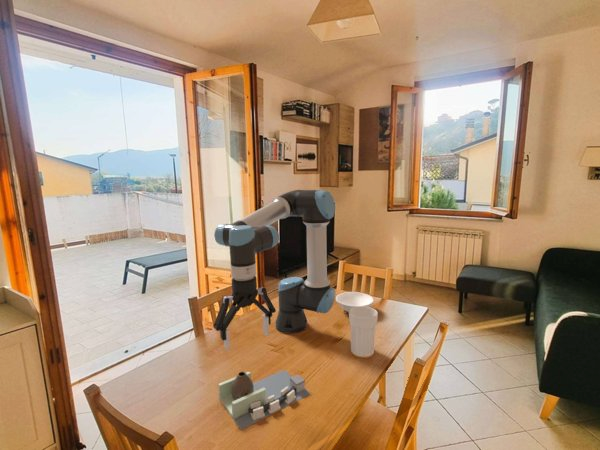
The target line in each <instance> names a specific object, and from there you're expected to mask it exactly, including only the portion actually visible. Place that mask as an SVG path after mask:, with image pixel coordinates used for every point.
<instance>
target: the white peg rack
mask: <svg viewBox="0 0 600 450" xmlns="http://www.w3.org/2000/svg"><path fill="white" fill-rule="evenodd" d="M292 386H295V387H296V391H295V390H292V391H291V392H289V393H288V394H287V400H285V401H284V402H285V403H287V404H290V403H291V402H292V401H293V400H294V399H295V398H296V396H295V392H296V393H298V392H300V391H302V390H304V389H305V388H306V383H305V378H303V377H301V375H299V374H295V375H293V376H292V377H291V378H290V387H291V388H292ZM288 391H289V389H288V387H285V388H284V389H283V390H281V396H283V395H284V394H286V393H287V392H288ZM274 400H275V396H274V395H272V396H270V397H268V398H266V399H265V404H268V403H270V402H272V401H274ZM290 405H291V404H290ZM260 406H261V402H260V401H257V402H254V403H251V404H250V408H251V409H253V408H256V409H253V413H250V414H251V417H252V419H253V420H256V419H259V418H261V417H264V416H265V414H264V408H263V406H262V407H260ZM258 407H259V408H258ZM279 409H281V407H280V406H279V400H276V401H274V402H272V403H270V409H268V410H267V411H268V412H269V413H270V414H271V413H273V412H275V411H277V410H279ZM281 410H282V409H281ZM279 411H280V410H279ZM277 412H278V411H277ZM275 413H276V412H275ZM273 414H274V413H273ZM271 415H272V414H271Z"/></svg>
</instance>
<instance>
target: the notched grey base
mask: <svg viewBox="0 0 600 450" xmlns="http://www.w3.org/2000/svg"><path fill="white" fill-rule="evenodd" d="M292 390H295V391H296V387H295V386H292V388H291V389H290V390H289V391H288V392H287V393H286V394H284V395H283V396H281V397H279V398H278V399H276V400H279V404H281V403H283V402H284V401H285V400H287V394H288V393H289V392H291V391H292ZM276 400H274V401H276ZM274 401H272V402H274ZM272 402H270V403H272ZM270 403H268V404H265V405H263V408H264V412H265V411H267V410H268V409H270ZM260 407H262V406H260ZM258 408H259V407H258ZM253 409H256V408H253ZM253 409H251V408H249V413H253Z"/></svg>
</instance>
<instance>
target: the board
mask: <svg viewBox="0 0 600 450" xmlns="http://www.w3.org/2000/svg"><path fill="white" fill-rule="evenodd" d="M291 377H293V376H292V375H291V374H290V373H289V372H288V371H286V370H285V369H283V370H280V371H278V372H275V373H273V374H271V375H268V376H267V377H265V378H262V379H260V380H258V381H255V382H253V387H254V389H255V390H256V391H257V390H259V389H261V388H265V389H266V398H268V397H270V396H272V395H274V396H275V400H276V399H278V398H279V397H281V390H283V389H284V388H285V387H288V389H289V390H290V389H291V387H290V378H291ZM311 394H312V393H311V392H310V391H309V390H308V389H307V388H306V387H305V389H304V390H302V391H300V392H298V393H296V392H295V396H296V398H295V399H294V400H293V401H292V402H291V403H290V404H287V403H285V402H283V403H281V404H279V406H280V407H281V409H279V410H277V411H275V412H273V413H271V414H270V413H269V412H268V411H265V412H264V414H265V416H264V417H261V418H259V419H256V420H253V419H252V417H251V414H250V413H247V414H245V415H243V416H241V417H239V418H237V419H235V420H234V419H233V417H232V416H231V414H230V413H229V411H228V410H227V409H226V407H225V406H224V404H223V403H222V401H221V400H220V398H219V397H218V399H219V400H220V401H219V402H221V403H222V405H223V406H224V408H225V409H226V411H227V412H228V413H229V415H230V416H231V418H232V419H233V421H234V422H235V423H236V425H237V427H238V428H239V430H242V431H243V429H246V428H248V427H249V426H251V425H253V424H255V423H257V422H259V421H261V420H263V419H265V418H267V417H269V416H271V415H272V414H275V413H277V412H278V411H280V410H283V409H284V408H286V407H288V406H291V405H292V404H294V403H296V402H298V401H300V400H302V399H304V398H306V397H307V396H310V395H311Z"/></svg>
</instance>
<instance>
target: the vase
mask: <svg viewBox="0 0 600 450" xmlns="http://www.w3.org/2000/svg"><path fill="white" fill-rule="evenodd" d="M235 377H236V376H235ZM253 383H254V382H253V380H252V378H251V379H250V377H248V376H247V375H246V372H245V371H240V372H238V374H237V377H236V378H235V379H234V381H233V383H232V387H231V393H232V397H233V399H234V400H237V399H239V398H242V397H244V396H246V395H248V394H250V393H253V390H254V387H253Z"/></svg>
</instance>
